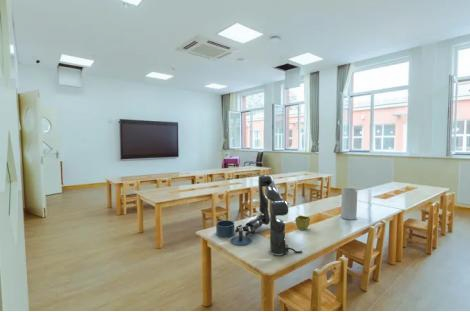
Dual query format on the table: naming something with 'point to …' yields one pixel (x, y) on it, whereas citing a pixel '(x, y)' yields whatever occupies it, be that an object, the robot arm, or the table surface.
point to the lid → (240, 239)
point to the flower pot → (302, 222)
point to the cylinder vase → (349, 203)
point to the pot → (225, 228)
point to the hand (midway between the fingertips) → (240, 232)
